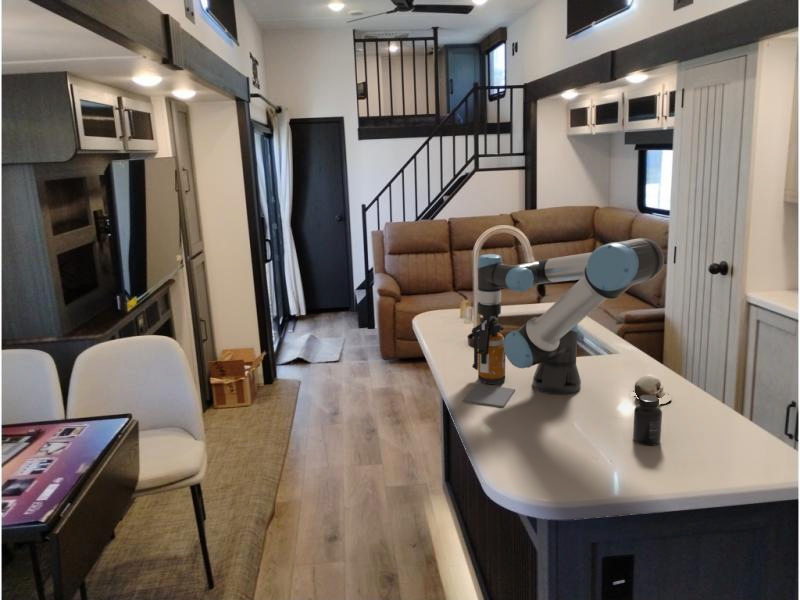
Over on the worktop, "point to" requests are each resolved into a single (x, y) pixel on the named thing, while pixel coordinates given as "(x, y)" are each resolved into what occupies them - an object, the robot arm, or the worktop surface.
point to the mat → (489, 395)
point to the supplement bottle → (647, 421)
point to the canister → (491, 356)
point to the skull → (649, 386)
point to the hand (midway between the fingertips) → (488, 367)
